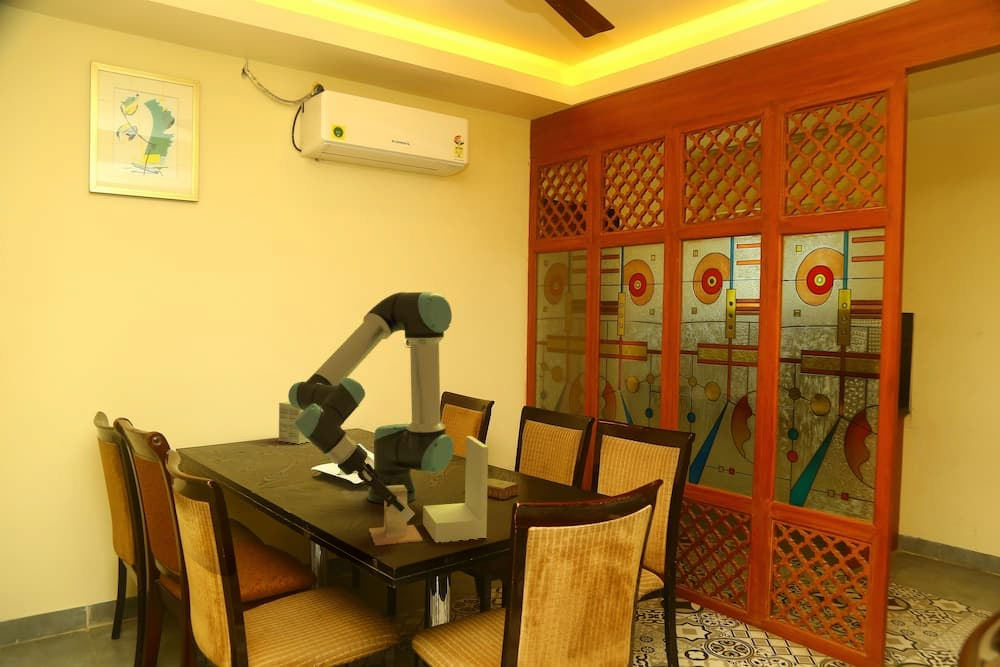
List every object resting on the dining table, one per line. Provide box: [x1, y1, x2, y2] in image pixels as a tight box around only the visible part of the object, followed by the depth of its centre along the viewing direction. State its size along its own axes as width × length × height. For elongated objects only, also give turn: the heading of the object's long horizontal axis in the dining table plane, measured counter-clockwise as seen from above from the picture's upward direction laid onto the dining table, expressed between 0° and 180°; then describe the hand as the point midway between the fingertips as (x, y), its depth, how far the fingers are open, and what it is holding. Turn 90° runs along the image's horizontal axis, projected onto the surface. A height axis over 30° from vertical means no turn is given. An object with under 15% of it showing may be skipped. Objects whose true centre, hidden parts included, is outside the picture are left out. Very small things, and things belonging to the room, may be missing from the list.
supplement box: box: [278, 401, 311, 445], centre depth 299 cm, size 13×13×18 cm
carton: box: [487, 477, 519, 499], centre depth 219 cm, size 8×16×4 cm, turn 53°
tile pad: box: [368, 524, 424, 546], centre depth 175 cm, size 12×12×1 cm
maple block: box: [383, 485, 408, 538], centre depth 175 cm, size 6×5×12 cm
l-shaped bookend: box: [422, 435, 489, 544], centre depth 179 cm, size 16×14×24 cm
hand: (407, 511), depth 176 cm, fingers open, 9 cm apart
